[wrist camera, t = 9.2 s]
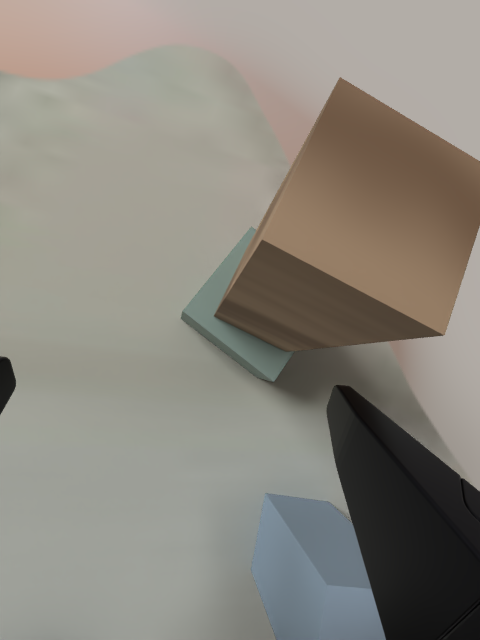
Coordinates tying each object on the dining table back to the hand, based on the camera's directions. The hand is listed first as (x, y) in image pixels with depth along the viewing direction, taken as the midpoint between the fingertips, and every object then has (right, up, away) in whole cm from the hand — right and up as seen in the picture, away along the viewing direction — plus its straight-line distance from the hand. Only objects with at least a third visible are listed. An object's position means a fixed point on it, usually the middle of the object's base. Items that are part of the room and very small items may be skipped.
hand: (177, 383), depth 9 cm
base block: (+2, +2, +15) cm, 15 cm away
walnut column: (+3, +3, +11) cm, 12 cm away
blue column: (+5, -13, +13) cm, 20 cm away
